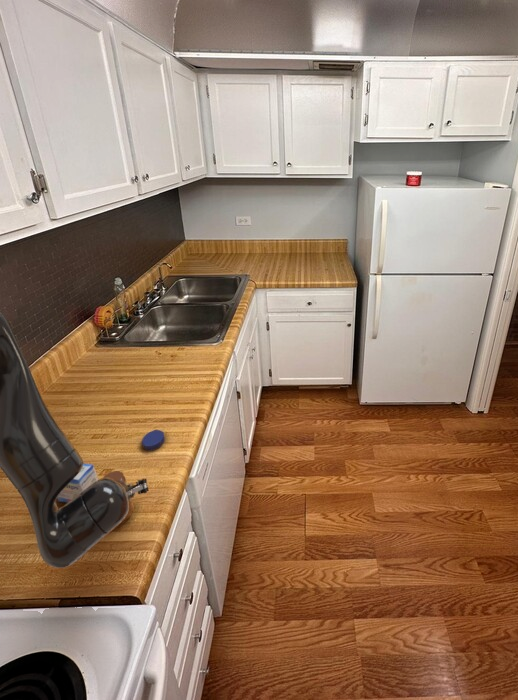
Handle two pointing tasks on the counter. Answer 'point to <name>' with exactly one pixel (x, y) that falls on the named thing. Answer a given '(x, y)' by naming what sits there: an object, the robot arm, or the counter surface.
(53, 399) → the counter surface
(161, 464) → the counter surface
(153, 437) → the jar lid
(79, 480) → the medicine box
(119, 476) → the jar
